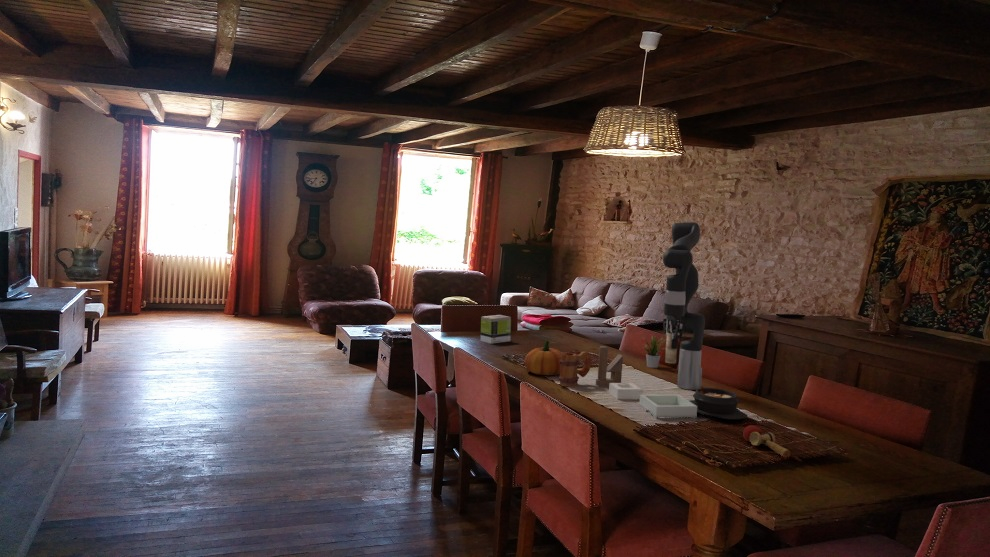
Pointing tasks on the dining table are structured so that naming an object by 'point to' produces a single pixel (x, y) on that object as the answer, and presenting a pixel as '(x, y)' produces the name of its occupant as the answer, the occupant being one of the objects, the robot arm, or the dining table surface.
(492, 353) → the dining table surface
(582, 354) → the mug
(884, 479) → the dining table surface
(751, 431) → the kendama
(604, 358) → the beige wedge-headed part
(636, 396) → the holder
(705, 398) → the casserole
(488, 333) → the tea box
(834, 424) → the dining table surface
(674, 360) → the dowel
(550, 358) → the pumpkin
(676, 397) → the tray
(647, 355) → the house plant
